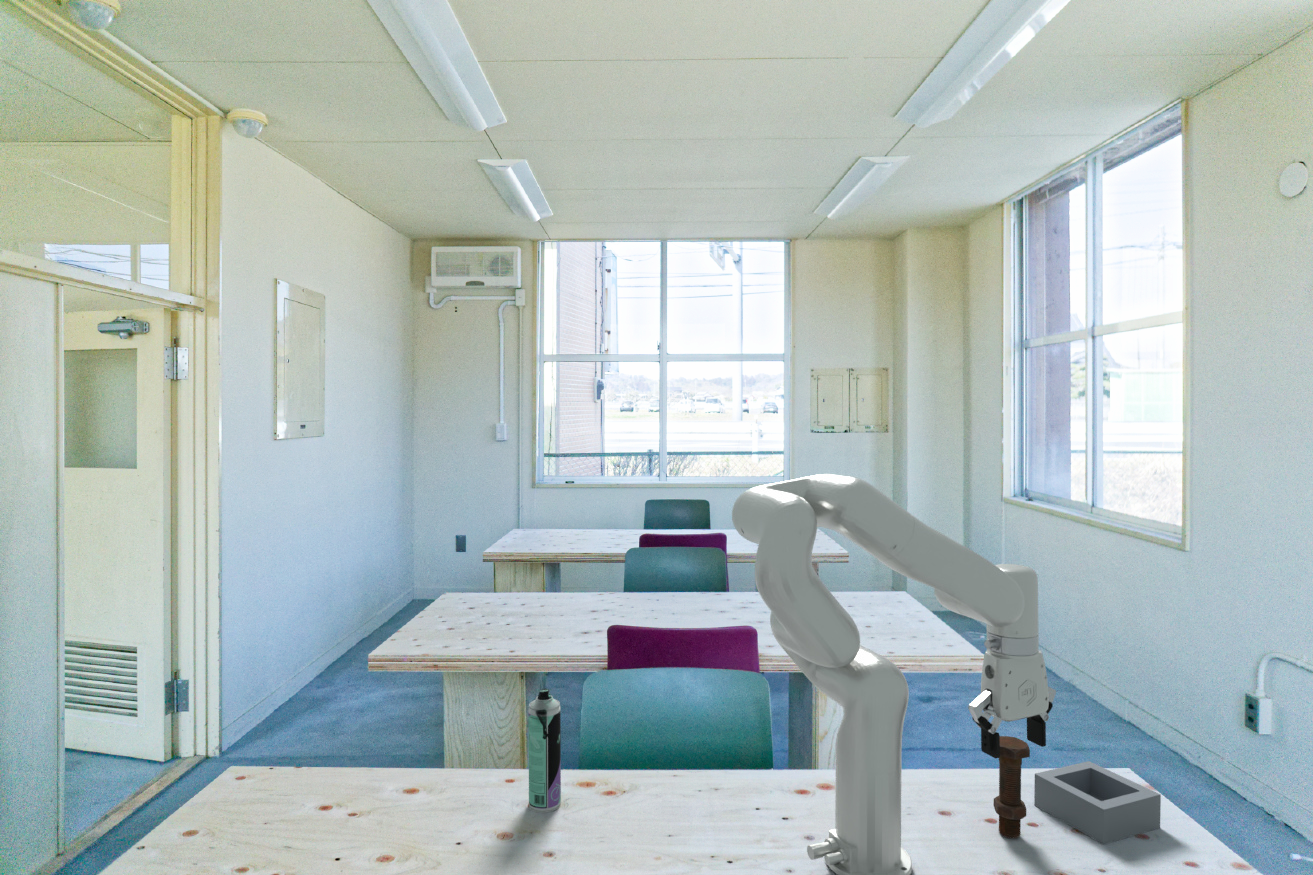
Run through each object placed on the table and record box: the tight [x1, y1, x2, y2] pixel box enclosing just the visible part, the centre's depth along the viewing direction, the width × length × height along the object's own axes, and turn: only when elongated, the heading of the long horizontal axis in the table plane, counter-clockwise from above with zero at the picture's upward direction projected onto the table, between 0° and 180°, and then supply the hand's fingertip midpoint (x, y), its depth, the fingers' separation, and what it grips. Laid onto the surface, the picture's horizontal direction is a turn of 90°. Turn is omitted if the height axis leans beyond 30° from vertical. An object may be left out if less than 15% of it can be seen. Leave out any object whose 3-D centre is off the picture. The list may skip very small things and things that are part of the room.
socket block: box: [1033, 760, 1162, 845], centre depth 127 cm, size 13×13×6 cm
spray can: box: [527, 688, 562, 814], centre depth 131 cm, size 6×6×20 cm
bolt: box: [993, 735, 1031, 839], centre depth 121 cm, size 6×5×15 cm
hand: (1013, 749), depth 121 cm, fingers open, 9 cm apart
